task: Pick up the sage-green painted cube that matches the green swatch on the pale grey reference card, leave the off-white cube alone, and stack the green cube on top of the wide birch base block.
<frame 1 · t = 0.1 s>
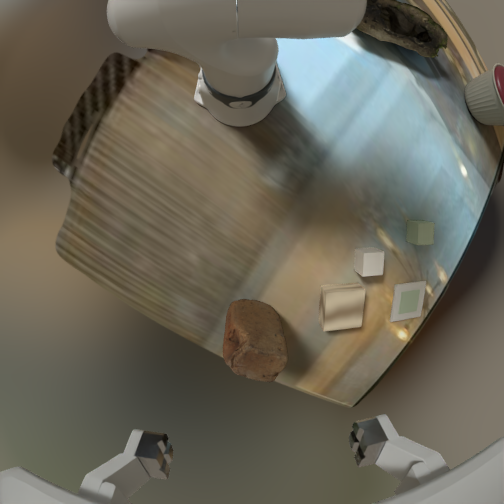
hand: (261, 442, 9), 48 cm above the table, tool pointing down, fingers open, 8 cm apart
block: (251, 313, 60), on the table
reference card: (407, 300, 61), on the table
hollow geode rock: (385, 35, 46), on the table
sage cube: (414, 230, 57), on the table
canister: (475, 104, 49), on the table
offwhite cube: (364, 258, 58), on the table
base block: (337, 302, 60), on the table
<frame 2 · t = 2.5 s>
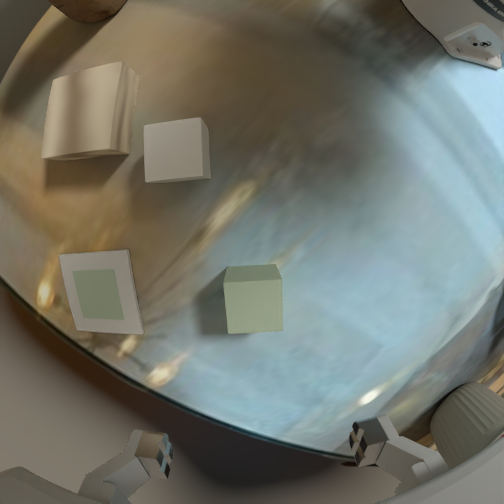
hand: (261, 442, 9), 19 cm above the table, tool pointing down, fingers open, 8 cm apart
reference card: (99, 293, 28), on the table
sage cube: (252, 288, 29), on the table
canister: (452, 403, 36), on the table
offwhite cube: (185, 156, 25), on the table
base block: (100, 119, 24), on the table
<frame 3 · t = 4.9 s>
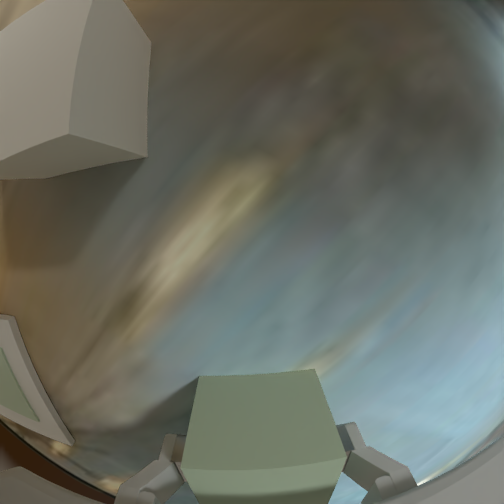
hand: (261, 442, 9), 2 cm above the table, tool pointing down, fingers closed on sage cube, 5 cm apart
reference card: (2, 374, 11), on the table
sage cube: (259, 412, 11), on the table, touching gripper
offwhite cube: (92, 108, 8), on the table
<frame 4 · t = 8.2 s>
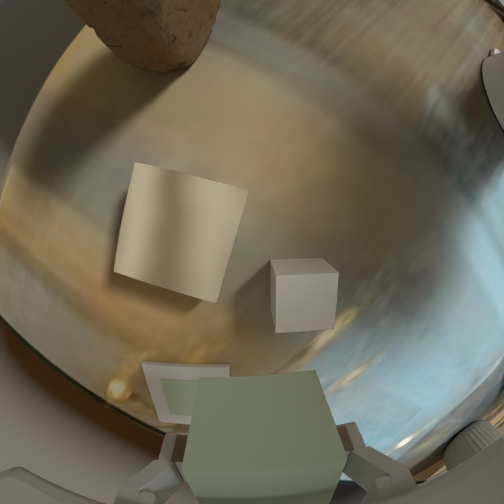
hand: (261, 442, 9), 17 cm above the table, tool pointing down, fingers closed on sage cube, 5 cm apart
block: (178, 36, 20), on the table
reference card: (190, 395, 29), on the table
sage cube: (259, 413, 11), point 15 cm above the table, touching gripper
canister: (462, 436, 36), on the table
offwhite cube: (296, 283, 26), on the table
base block: (187, 225, 25), on the table
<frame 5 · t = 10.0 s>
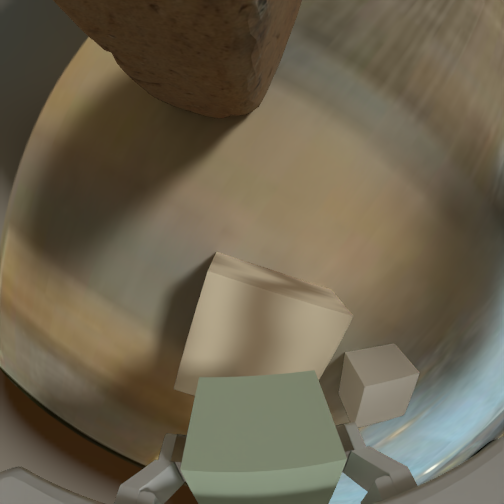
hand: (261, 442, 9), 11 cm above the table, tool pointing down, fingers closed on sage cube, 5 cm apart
block: (228, 61, 16), on the table
sage cube: (259, 413, 11), point 9 cm above the table, touching gripper
offwhite cube: (366, 369, 22), on the table
base block: (255, 323, 21), on the table
when the fingers open (8 cm above the table, at t = 11.5 s): sage cube drops 1 cm, resting on base block.
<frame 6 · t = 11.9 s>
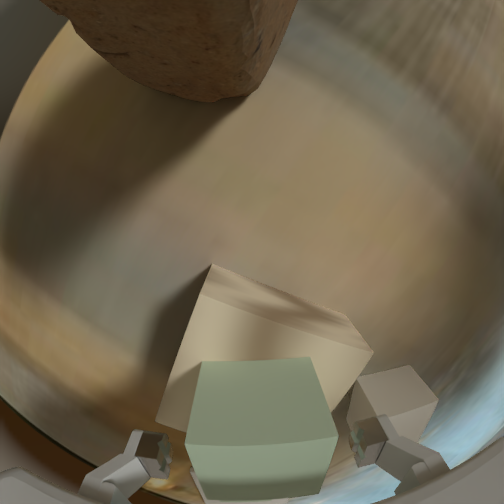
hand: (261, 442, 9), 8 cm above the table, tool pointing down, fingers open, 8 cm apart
block: (221, 39, 13), on the table
reference card: (243, 487, 21), on the table
sage cube: (257, 398, 12), point 5 cm above the table, touching base block
offwhite cube: (377, 393, 19), on the table
base block: (253, 348, 17), on the table, touching sage cube
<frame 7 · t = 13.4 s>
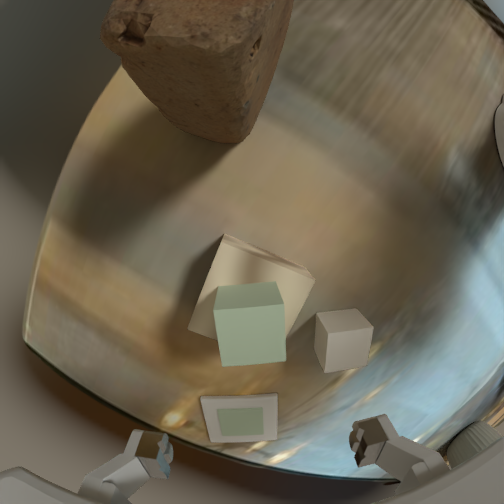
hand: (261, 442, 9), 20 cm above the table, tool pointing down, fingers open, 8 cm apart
block: (228, 98, 25), on the table
reference card: (241, 419, 33), on the table
sage cube: (249, 309, 24), point 5 cm above the table, touching base block
canister: (463, 435, 41), on the table
offwhite cube: (334, 329, 30), on the table
base block: (248, 287, 29), on the table, touching sage cube
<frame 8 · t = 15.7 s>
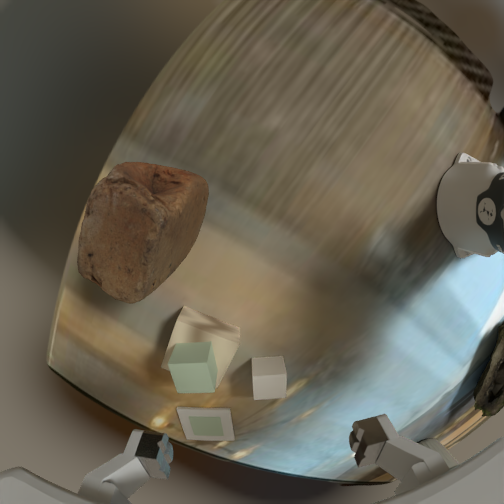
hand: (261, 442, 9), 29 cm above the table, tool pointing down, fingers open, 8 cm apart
block: (180, 210, 36), on the table
reference card: (206, 424, 45), on the table
hollow geode rock: (489, 356, 46), on the table
sage cube: (197, 357, 36), point 5 cm above the table
canister: (416, 449, 52), on the table
offwhite cube: (267, 368, 42), on the table
base block: (202, 339, 41), on the table
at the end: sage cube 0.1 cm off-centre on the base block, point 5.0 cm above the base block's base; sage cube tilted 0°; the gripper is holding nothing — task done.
